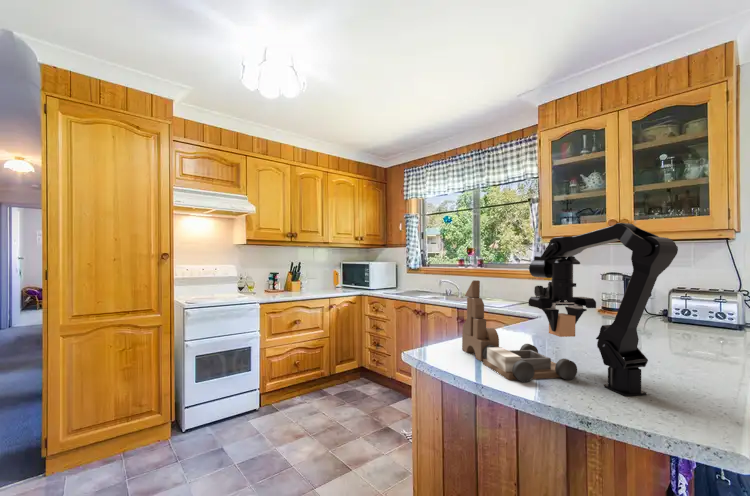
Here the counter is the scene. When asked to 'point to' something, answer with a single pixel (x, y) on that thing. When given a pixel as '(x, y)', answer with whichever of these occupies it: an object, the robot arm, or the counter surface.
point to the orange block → (564, 326)
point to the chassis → (526, 364)
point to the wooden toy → (477, 324)
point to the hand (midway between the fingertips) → (561, 331)
